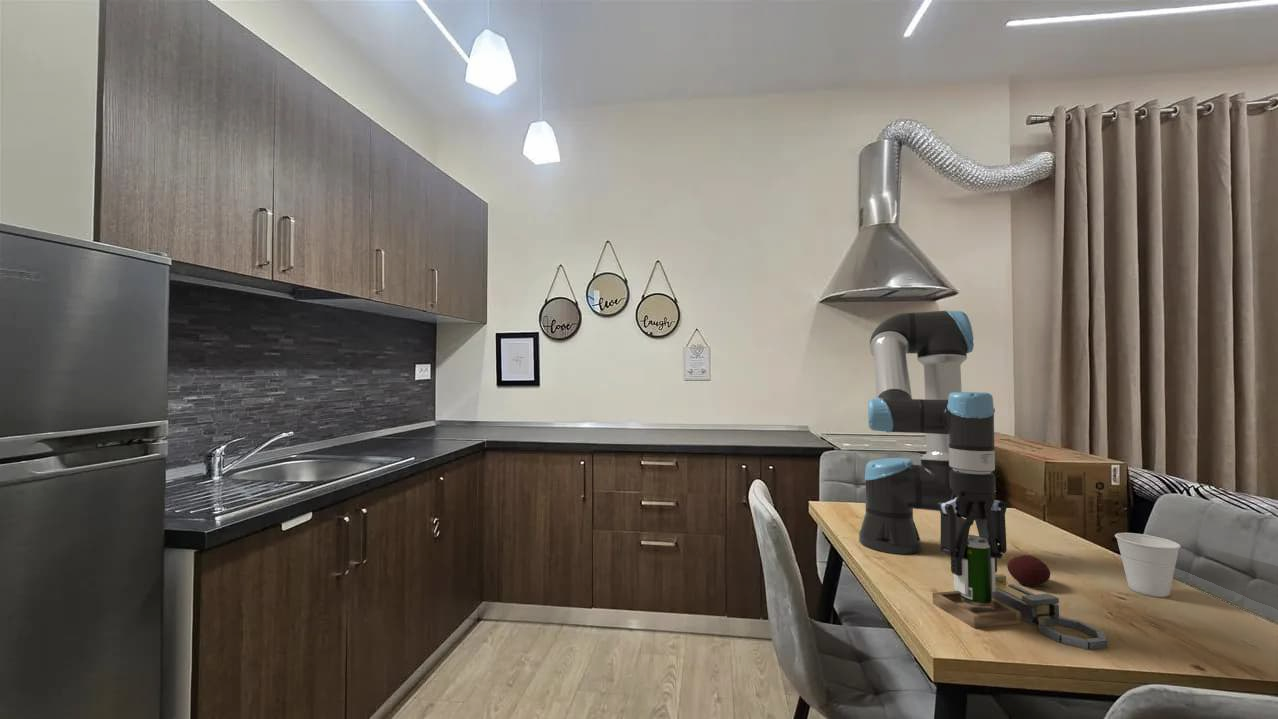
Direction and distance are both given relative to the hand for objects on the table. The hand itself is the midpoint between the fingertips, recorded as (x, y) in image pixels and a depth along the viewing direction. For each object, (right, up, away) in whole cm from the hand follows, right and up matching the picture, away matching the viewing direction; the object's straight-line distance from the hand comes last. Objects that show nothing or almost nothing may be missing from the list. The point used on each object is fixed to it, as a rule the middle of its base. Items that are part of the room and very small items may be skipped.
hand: (974, 590), depth 96 cm
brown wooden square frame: (0, -4, 0) cm, 4 cm away
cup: (+44, -5, +10) cm, 45 cm away
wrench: (+11, -4, -4) cm, 12 cm away
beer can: (0, -2, 0) cm, 2 cm away
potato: (+22, -5, +14) cm, 26 cm away
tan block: (+10, -4, +2) cm, 11 cm away
